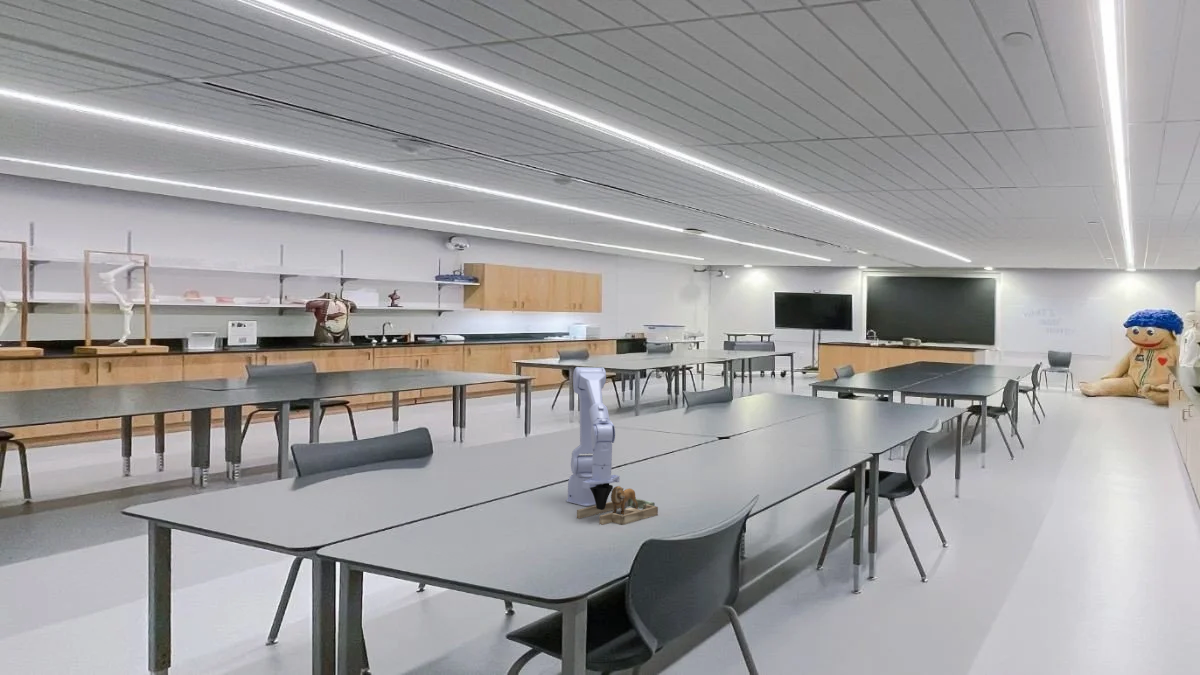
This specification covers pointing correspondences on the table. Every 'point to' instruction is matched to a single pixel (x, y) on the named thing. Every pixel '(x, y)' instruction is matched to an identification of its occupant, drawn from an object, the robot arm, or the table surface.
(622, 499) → the lion figurine
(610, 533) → the table surface
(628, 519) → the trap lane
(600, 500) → the robot arm
